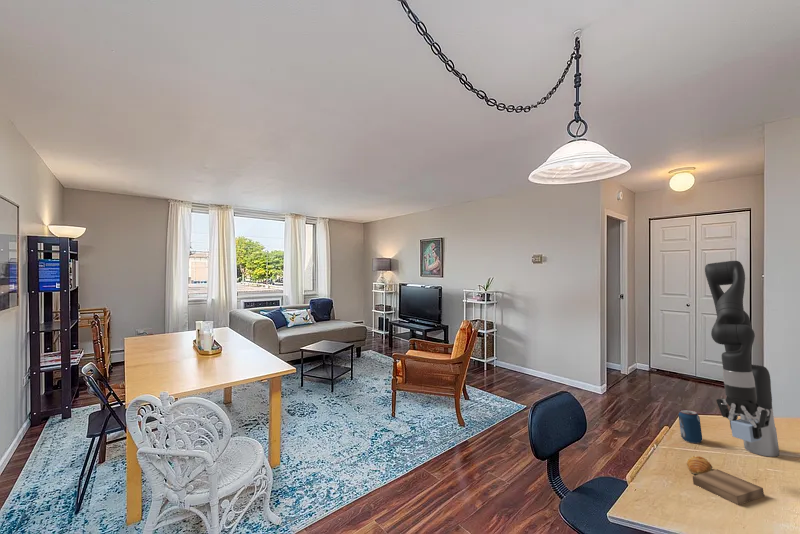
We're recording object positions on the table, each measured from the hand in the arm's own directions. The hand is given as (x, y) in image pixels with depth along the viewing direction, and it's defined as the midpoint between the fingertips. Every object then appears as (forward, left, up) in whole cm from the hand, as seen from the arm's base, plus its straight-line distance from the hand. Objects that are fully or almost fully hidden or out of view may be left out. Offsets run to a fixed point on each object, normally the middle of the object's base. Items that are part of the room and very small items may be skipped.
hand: (746, 434), depth 112 cm
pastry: (+7, -11, -16) cm, 20 cm away
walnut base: (+12, 0, -16) cm, 20 cm away
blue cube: (0, 0, -1) cm, 1 cm away
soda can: (-15, -28, -15) cm, 35 cm away
